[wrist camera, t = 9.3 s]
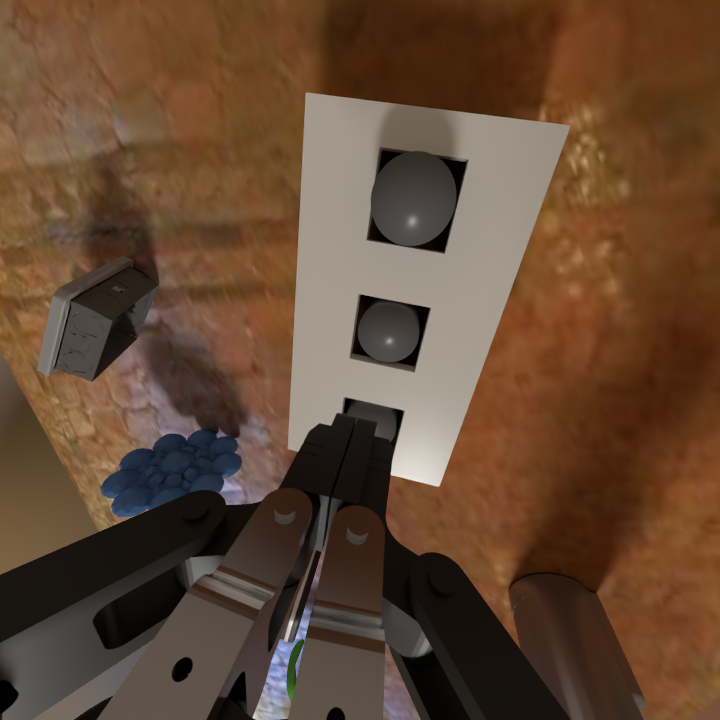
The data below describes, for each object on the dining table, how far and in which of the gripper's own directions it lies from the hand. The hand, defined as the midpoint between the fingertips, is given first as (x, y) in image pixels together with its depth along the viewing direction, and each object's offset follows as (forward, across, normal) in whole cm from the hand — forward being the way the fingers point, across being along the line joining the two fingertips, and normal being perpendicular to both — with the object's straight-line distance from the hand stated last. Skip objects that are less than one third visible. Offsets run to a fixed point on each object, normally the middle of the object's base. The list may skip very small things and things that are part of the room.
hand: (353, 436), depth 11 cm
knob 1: (+15, 0, -8) cm, 17 cm away
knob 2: (+17, 0, 0) cm, 17 cm away
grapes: (+18, +19, +21) cm, 34 cm away
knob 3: (+17, 0, +9) cm, 19 cm away
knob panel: (+18, 0, 0) cm, 18 cm away
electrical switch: (+18, +26, +5) cm, 32 cm away
